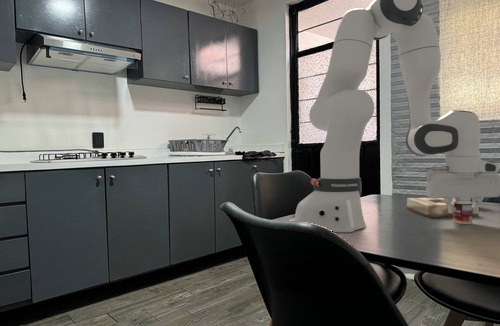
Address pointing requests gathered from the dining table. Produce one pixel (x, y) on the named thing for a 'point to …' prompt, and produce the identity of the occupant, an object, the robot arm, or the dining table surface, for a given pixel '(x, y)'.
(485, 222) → the dining table surface
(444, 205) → the well block
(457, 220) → the pill bottle
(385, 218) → the dining table surface
